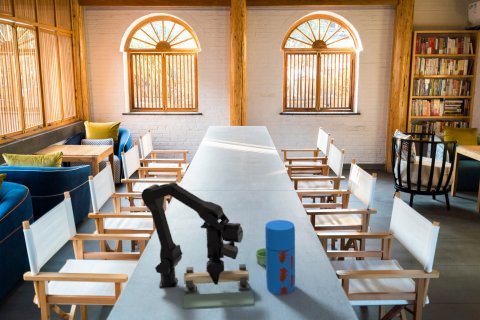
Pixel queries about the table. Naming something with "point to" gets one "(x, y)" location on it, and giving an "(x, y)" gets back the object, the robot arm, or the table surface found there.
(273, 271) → the thermos
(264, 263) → the ramekin
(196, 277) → the rail
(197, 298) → the mat
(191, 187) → the table surface
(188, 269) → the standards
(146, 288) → the table surface
